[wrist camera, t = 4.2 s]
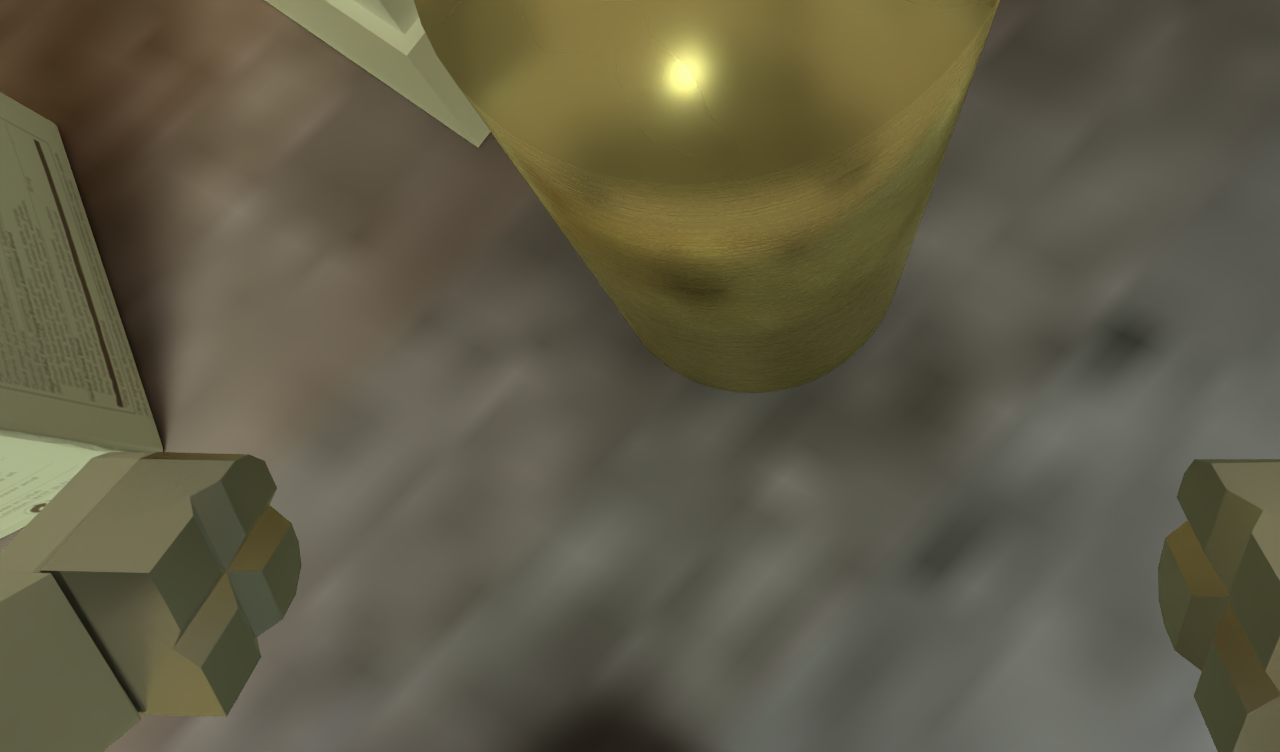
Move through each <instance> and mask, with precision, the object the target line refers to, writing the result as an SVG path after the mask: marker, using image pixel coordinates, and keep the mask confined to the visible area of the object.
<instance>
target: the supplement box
mask: <svg viewBox="0 0 1280 752" xmlns="http://www.w3.org/2000/svg"><path fill="white" fill-rule="evenodd" d="M108 452H148V453H156V452H163V447H162V444H161V440H160V437H159V434H158V431H157V428H156V425H155V422H154V419H153V416H152V413H151V410H150V407H149V404H148V401H147V398H146V395H145V392H144V389H143V386H142V382H141V379H140V376H139V373H138V370H137V367H136V364H135V361H134V358H133V355H132V352H131V349H130V346H129V343H128V340H127V337H126V334H125V331H124V328H123V325H122V322H121V319H120V316H119V312H118V309H117V306H116V303H115V300H114V297H113V294H112V291H111V288H110V285H109V282H108V279H107V276H106V273H105V270H104V267H103V264H102V261H101V258H100V255H99V252H98V249H97V246H96V243H95V240H94V237H93V234H92V231H91V228H90V225H89V222H88V218H87V215H86V212H85V209H84V206H83V203H82V200H81V197H80V194H79V191H78V188H77V185H76V182H75V179H74V176H73V173H72V170H71V167H70V164H69V161H68V158H67V155H66V152H65V149H64V146H63V143H62V140H61V137H60V134H59V131H58V128H57V126H56V125H55V124H54V123H53V122H52V121H50V120H48V119H46V118H44V117H42V116H41V115H39V114H37V113H36V112H34V111H32V110H30V109H29V108H27V107H25V106H24V105H22V104H20V103H18V102H17V101H15V100H13V99H12V98H10V97H8V96H7V95H5V94H3V93H1V92H0V538H2V537H4V536H6V535H8V534H10V533H12V532H15V531H17V530H19V529H21V528H23V527H25V526H26V525H27V524H28V523H29V522H30V521H31V520H32V519H33V518H34V517H35V516H36V515H37V514H38V513H39V512H40V511H41V510H42V509H43V508H44V507H45V506H46V505H47V504H48V503H49V502H50V501H51V500H52V499H53V498H54V497H55V495H56V494H57V493H58V492H59V491H60V490H61V489H62V488H63V487H64V486H65V485H66V484H67V483H68V482H69V481H70V480H71V479H72V478H73V477H74V476H75V475H76V474H77V473H78V472H79V471H80V470H81V469H82V468H83V467H84V466H85V465H86V464H87V462H88V461H89V460H90V459H91V458H93V457H96V456H99V455H102V454H105V453H108Z"/></svg>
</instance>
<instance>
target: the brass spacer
mask: <svg viewBox="0 0 1280 752" xmlns="http://www.w3.org/2000/svg"><path fill="white" fill-rule="evenodd" d="M999 2H1000V0H414V3H415V6H416V9H417V12H418V15H419V18H420V22H421V25H422V27H423V29H424V31H425V33H426V35H427V37H428V39H429V41H430V43H431V45H432V47H433V49H434V51H435V53H436V55H437V57H438V58H439V60H440V61H441V63H442V64H443V65H444V67H445V68H446V70H447V71H448V73H449V74H450V75H451V77H452V78H453V80H454V81H455V83H456V84H457V86H458V87H459V88H460V90H461V91H462V92H463V94H464V95H465V97H466V98H467V99H468V101H469V102H470V104H471V105H472V106H473V108H474V109H475V111H476V112H477V113H478V115H479V116H480V118H481V119H482V120H483V122H484V123H485V125H486V126H487V127H488V129H489V130H490V131H491V133H492V134H493V136H494V137H495V138H496V140H497V141H498V143H499V144H500V145H501V147H502V148H503V150H504V151H505V152H506V154H507V155H508V157H509V158H510V159H511V161H512V162H513V164H514V165H515V166H516V168H517V169H518V170H519V172H520V173H521V175H522V176H523V177H524V179H525V180H526V182H527V183H528V184H529V186H530V187H531V189H532V190H533V191H534V193H535V194H536V196H537V197H538V198H539V200H540V201H541V203H542V204H543V205H544V207H545V208H546V209H547V211H548V212H549V214H550V215H551V216H552V218H553V219H554V221H555V222H556V223H557V225H558V226H559V228H560V229H561V230H562V232H563V233H564V235H565V236H566V237H567V239H568V240H569V242H570V243H571V244H572V246H573V247H574V248H575V250H576V251H577V253H578V254H579V255H580V257H581V258H582V260H583V261H584V262H585V264H586V265H587V267H588V268H589V269H590V271H591V272H592V274H593V275H594V276H595V278H596V279H597V281H598V282H599V283H600V285H601V286H602V287H603V289H604V290H605V292H606V293H607V294H608V296H609V297H610V299H611V300H612V301H613V303H614V304H615V306H616V307H617V308H618V310H619V311H620V313H621V314H622V315H623V317H624V318H625V320H626V321H627V322H628V324H629V325H630V326H631V328H632V329H633V331H634V332H635V333H636V335H637V336H638V338H639V339H640V340H641V342H642V343H643V344H644V345H645V346H646V347H647V348H648V349H649V350H650V351H651V353H652V354H653V355H655V356H656V357H657V358H658V359H659V360H661V361H662V362H663V363H664V364H665V365H667V366H668V367H670V368H671V369H673V370H674V371H676V372H678V373H679V374H681V375H683V376H684V377H687V378H689V379H691V380H693V381H696V382H698V383H700V384H703V385H706V386H710V387H713V388H716V389H721V390H727V391H733V392H745V393H761V392H772V391H779V390H783V389H788V388H792V387H796V386H799V385H802V384H804V383H807V382H810V381H813V380H815V379H817V378H819V377H821V376H823V375H824V374H826V373H828V372H830V371H832V370H833V369H835V368H836V367H838V366H839V365H841V364H842V363H844V362H845V361H846V360H848V359H849V358H850V357H851V356H852V355H853V354H854V353H855V352H857V351H858V350H859V349H860V348H861V347H862V346H863V345H864V343H865V342H866V341H867V340H868V339H869V338H870V336H871V335H872V334H873V333H874V332H875V330H876V328H877V327H878V325H879V324H880V322H881V321H882V319H883V317H884V316H885V314H886V312H887V309H888V307H889V305H890V303H891V301H892V298H893V296H894V293H895V290H896V287H897V285H898V282H899V279H900V276H901V274H902V271H903V268H904V265H905V262H906V260H907V257H908V254H909V251H910V249H911V246H912V243H913V240H914V238H915V235H916V232H917V229H918V226H919V224H920V221H921V218H922V215H923V213H924V210H925V207H926V204H927V202H928V199H929V196H930V193H931V191H932V188H933V185H934V182H935V179H936V177H937V174H938V171H939V168H940V166H941V163H942V160H943V157H944V155H945V152H946V149H947V146H948V143H949V141H950V138H951V135H952V132H953V130H954V127H955V124H956V121H957V119H958V116H959V113H960V110H961V107H962V105H963V102H964V99H965V96H966V94H967V91H968V88H969V85H970V83H971V80H972V77H973V74H974V72H975V69H976V66H977V63H978V60H979V58H980V55H981V52H982V49H983V47H984V44H985V41H986V38H987V36H988V33H989V30H990V27H991V24H992V22H993V19H994V16H995V13H996V11H997V8H998V5H999Z"/></svg>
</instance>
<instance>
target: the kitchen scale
mask: <svg viewBox="0 0 1280 752" xmlns="http://www.w3.org/2000/svg"><path fill="white" fill-rule="evenodd" d="M265 1H266V2H268V3H269V4H271V5H272V6H274V7H275V8H277V9H278V10H279V11H281V12H282V13H284V14H285V15H287V16H288V17H290V18H291V19H292V20H294V21H295V22H297V23H298V24H300V25H301V26H303V27H304V28H305V29H307V30H308V31H310V32H311V33H313V34H314V35H316V36H317V37H318V38H320V39H321V40H323V41H324V42H326V43H327V44H329V45H330V46H332V47H333V48H334V49H336V50H337V51H339V52H340V53H342V54H343V55H345V56H346V57H347V58H349V59H350V60H352V61H353V62H355V63H356V64H358V65H359V66H360V67H362V68H363V69H365V70H366V71H368V72H369V73H371V74H372V75H373V76H375V77H376V78H378V79H379V80H381V81H382V82H384V83H385V84H387V85H388V86H389V87H391V88H392V89H394V90H395V91H397V92H398V93H400V94H401V95H402V96H404V97H405V98H407V99H408V100H410V101H411V102H413V103H414V104H415V105H417V106H418V107H420V108H421V109H423V110H424V111H426V112H427V113H428V114H430V115H431V116H433V117H434V118H436V119H437V120H439V121H440V122H442V123H443V124H444V125H446V126H447V127H449V128H450V129H452V130H453V131H455V132H456V133H457V134H459V135H460V136H462V137H463V138H465V139H466V140H468V141H469V142H470V143H472V144H473V145H475V146H476V147H478V148H479V146H480V145H481V144H482V142H483V141H484V140H485V139H486V137H487V136H488V135H489V133H490V132H491V131H490V130H489V129H488V127H487V126H486V125H485V123H484V122H483V120H482V119H481V118H480V116H479V115H478V113H477V112H476V111H475V109H474V108H473V106H472V105H471V104H470V102H469V101H468V99H467V98H466V97H465V95H464V94H463V92H462V91H461V90H460V88H459V87H458V86H457V84H456V83H455V81H454V80H453V78H452V77H451V75H450V74H449V73H448V71H447V70H446V68H445V67H444V65H443V64H442V63H441V61H440V60H439V58H438V57H437V55H436V53H435V51H434V49H433V47H432V45H431V43H430V41H429V39H428V37H427V35H426V33H425V31H424V29H423V27H422V25H421V22H420V18H419V15H418V12H417V9H416V6H415V3H414V0H265Z"/></svg>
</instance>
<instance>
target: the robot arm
mask: <svg viewBox="0 0 1280 752" xmlns="http://www.w3.org/2000/svg"><path fill="white" fill-rule="evenodd" d="M276 489H277V487H276V485H275V483H274V481H273V478H272V476H271V474H270V472H269V470H268V468H267V465H266V463H265V461H263V460H261V459H258V458H256V457H254V456H251V455H244V454H209V453H174V452H156V453H148V452H108V453H105V454H102V455H99V456H96V457H93V458H91V459H90V460H89V461H88V462H87V464H86V465H85V466H84V467H83V468H82V469H81V470H80V471H79V472H78V473H77V474H76V475H75V476H74V477H73V478H72V479H71V480H70V481H69V482H68V483H67V484H66V485H65V486H64V487H63V488H62V489H61V490H60V491H59V492H58V493H57V494H56V495H55V497H54V498H53V499H52V500H51V501H50V502H49V503H48V504H47V505H46V506H45V507H44V508H43V509H42V510H41V511H40V512H39V513H38V514H37V515H36V516H35V517H34V518H33V519H32V520H31V521H30V522H29V523H28V524H27V525H26V526H25V527H24V528H23V530H22V531H21V532H20V533H19V534H18V535H17V536H16V537H15V538H14V539H13V540H12V541H11V542H10V543H9V544H8V545H7V546H6V547H5V548H4V549H3V550H2V551H1V552H0V752H103V751H104V750H105V749H107V748H108V747H109V746H110V745H111V744H113V743H114V742H115V741H116V740H117V739H119V738H120V737H121V736H122V735H123V734H124V733H126V732H127V731H128V730H129V729H130V728H132V727H133V726H134V725H135V724H136V723H138V722H139V721H140V720H141V717H140V715H182V716H225V717H227V715H228V714H229V712H230V710H231V708H232V707H233V705H234V703H235V701H236V700H237V698H238V696H239V694H240V693H241V691H242V689H243V688H244V686H245V684H246V682H247V681H248V679H249V677H250V675H251V674H252V672H253V670H254V668H255V667H256V665H257V663H258V661H259V660H260V658H261V654H260V650H259V645H258V641H257V637H258V636H259V635H261V634H262V633H264V632H265V631H266V630H268V629H269V628H271V627H272V626H273V625H275V624H276V623H278V622H279V621H281V620H282V619H283V617H284V616H285V614H286V612H287V610H288V608H289V606H290V604H291V602H292V601H293V599H294V597H295V595H296V590H297V585H298V580H299V575H300V570H301V558H300V549H299V542H298V539H297V537H296V534H295V531H294V529H293V526H292V524H291V522H289V521H288V520H287V519H286V518H284V517H283V516H282V515H281V514H279V513H278V512H277V511H276V510H275V509H273V508H272V507H271V506H270V502H271V500H272V498H273V496H274V493H275V491H276ZM1177 499H1178V501H1179V503H1180V505H1181V507H1182V509H1183V511H1184V513H1185V515H1186V517H1187V519H1188V521H1187V522H1185V523H1184V524H1183V525H1181V526H1180V527H1179V528H1178V529H1176V530H1175V531H1174V532H1172V533H1171V534H1170V535H1168V536H1167V537H1166V538H1165V541H1164V545H1163V550H1162V554H1161V558H1160V562H1159V567H1158V588H1159V603H1160V608H1161V612H1162V616H1163V621H1164V625H1165V627H1166V630H1167V632H1168V635H1169V637H1170V640H1171V642H1172V645H1173V647H1174V650H1175V651H1177V652H1178V653H1179V654H1180V655H1182V656H1183V657H1184V658H1186V659H1187V660H1188V661H1189V662H1191V663H1192V664H1193V665H1195V666H1196V667H1197V668H1199V669H1200V670H1201V671H1202V673H1201V676H1200V679H1199V682H1198V685H1197V688H1196V691H1195V694H1194V697H1195V700H1196V702H1197V704H1198V707H1199V709H1200V711H1201V714H1202V716H1203V718H1204V721H1205V723H1206V725H1207V728H1208V730H1209V732H1210V735H1211V737H1212V739H1213V742H1214V744H1215V746H1216V749H1217V751H1218V752H1280V459H1194V461H1193V462H1192V464H1191V465H1190V466H1189V468H1188V469H1187V470H1186V472H1185V473H1184V476H1183V479H1182V482H1181V485H1180V489H1179V492H1178V495H1177Z"/></svg>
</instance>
